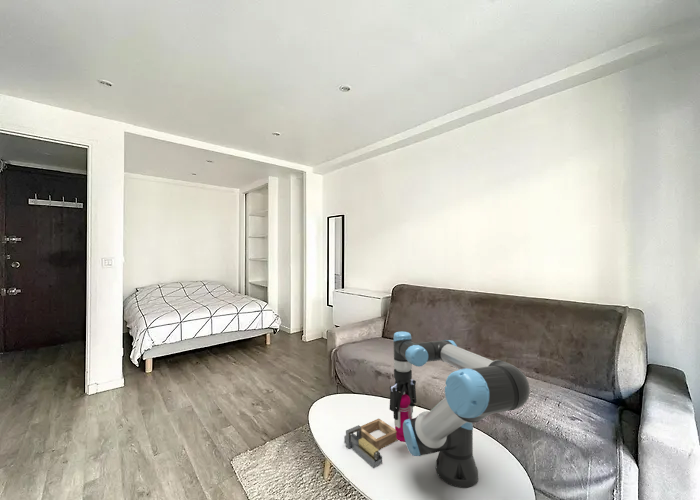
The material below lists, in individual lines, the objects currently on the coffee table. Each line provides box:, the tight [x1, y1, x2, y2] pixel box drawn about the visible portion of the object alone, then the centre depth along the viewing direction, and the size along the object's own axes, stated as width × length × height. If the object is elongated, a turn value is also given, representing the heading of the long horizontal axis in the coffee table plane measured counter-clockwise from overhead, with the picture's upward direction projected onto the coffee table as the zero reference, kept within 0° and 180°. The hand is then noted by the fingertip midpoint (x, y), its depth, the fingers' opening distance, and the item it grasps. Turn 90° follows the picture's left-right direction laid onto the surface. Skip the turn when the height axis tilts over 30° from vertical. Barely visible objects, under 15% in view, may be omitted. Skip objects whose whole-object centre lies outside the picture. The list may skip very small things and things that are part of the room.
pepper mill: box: [394, 392, 410, 443], centre depth 130 cm, size 7×7×20 cm
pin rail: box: [343, 424, 383, 469], centre depth 128 cm, size 20×7×7 cm, turn 36°
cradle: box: [360, 418, 399, 450], centre depth 138 cm, size 13×13×4 cm
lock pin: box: [359, 438, 381, 460], centre depth 124 cm, size 11×3×3 cm, turn 36°
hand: (403, 423), depth 130 cm, fingers closed on pepper mill, 6 cm apart
